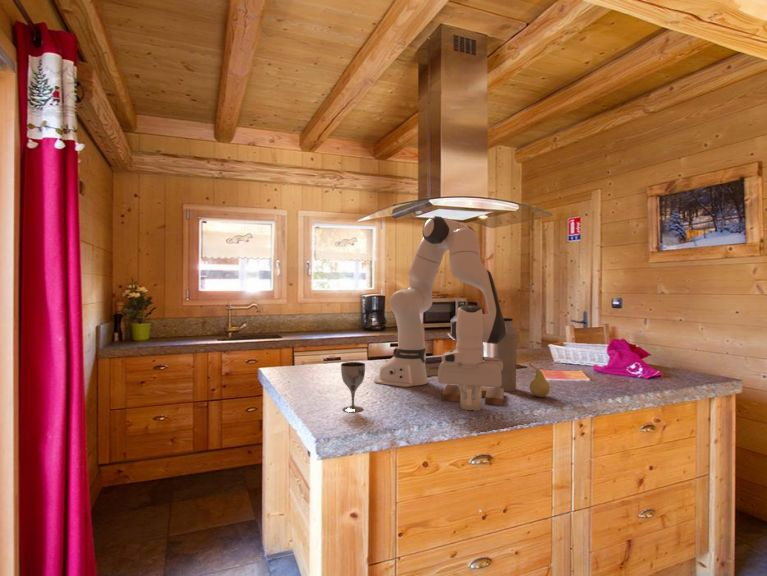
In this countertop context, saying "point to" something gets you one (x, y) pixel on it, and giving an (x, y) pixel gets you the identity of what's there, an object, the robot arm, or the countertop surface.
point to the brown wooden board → (490, 394)
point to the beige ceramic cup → (469, 403)
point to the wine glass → (353, 381)
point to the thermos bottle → (508, 356)
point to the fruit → (539, 384)
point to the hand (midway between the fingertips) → (469, 398)
